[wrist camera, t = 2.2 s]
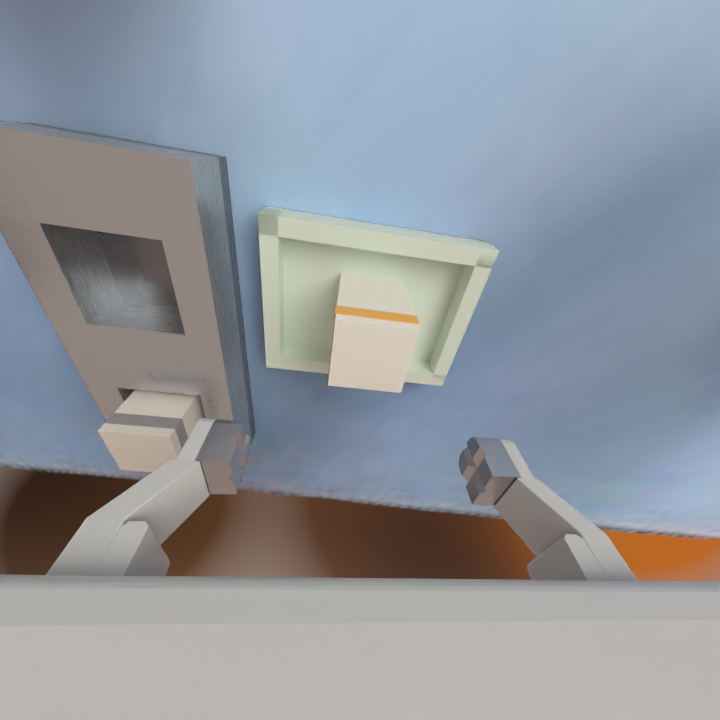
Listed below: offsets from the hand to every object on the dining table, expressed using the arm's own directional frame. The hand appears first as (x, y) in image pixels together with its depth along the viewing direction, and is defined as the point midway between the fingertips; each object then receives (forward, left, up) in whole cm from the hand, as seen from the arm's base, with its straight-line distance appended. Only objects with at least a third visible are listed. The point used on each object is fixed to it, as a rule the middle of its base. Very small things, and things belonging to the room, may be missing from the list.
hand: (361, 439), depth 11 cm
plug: (-1, 0, -11) cm, 11 cm away
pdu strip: (+12, +4, -11) cm, 17 cm away
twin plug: (+12, +9, -10) cm, 18 cm away
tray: (-1, 0, -11) cm, 11 cm away
